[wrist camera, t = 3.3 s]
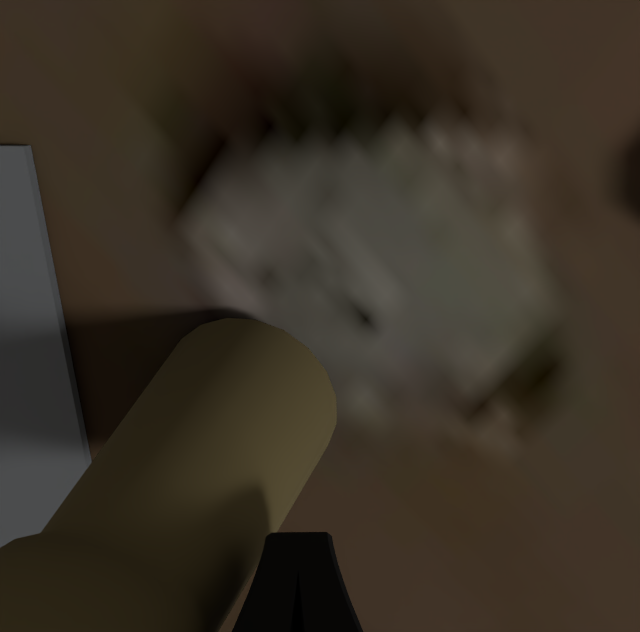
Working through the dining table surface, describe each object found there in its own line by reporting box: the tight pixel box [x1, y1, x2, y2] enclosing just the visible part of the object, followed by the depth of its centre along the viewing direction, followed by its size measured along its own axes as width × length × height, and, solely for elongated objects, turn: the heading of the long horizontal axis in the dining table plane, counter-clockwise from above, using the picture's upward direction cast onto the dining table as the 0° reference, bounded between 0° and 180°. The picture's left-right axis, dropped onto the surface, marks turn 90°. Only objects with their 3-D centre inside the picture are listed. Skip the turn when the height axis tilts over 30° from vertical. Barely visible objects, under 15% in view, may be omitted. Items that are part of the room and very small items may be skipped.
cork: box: [0, 318, 337, 632], centre depth 12 cm, size 6×6×11 cm
